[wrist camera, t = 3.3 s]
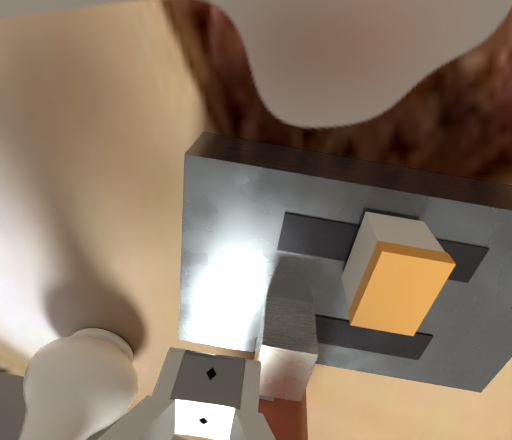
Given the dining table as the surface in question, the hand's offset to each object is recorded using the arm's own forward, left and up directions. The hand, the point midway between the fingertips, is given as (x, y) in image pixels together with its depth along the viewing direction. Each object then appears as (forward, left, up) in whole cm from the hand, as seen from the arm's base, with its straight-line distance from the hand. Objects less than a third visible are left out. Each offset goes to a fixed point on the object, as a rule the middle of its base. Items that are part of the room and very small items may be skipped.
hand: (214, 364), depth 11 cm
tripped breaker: (-7, 0, -8) cm, 11 cm away
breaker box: (-7, +3, -13) cm, 15 cm away
